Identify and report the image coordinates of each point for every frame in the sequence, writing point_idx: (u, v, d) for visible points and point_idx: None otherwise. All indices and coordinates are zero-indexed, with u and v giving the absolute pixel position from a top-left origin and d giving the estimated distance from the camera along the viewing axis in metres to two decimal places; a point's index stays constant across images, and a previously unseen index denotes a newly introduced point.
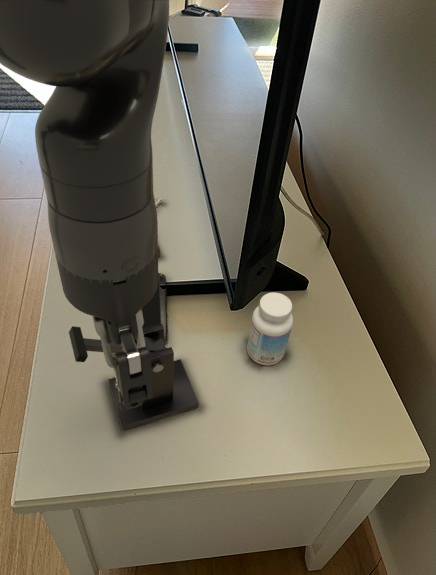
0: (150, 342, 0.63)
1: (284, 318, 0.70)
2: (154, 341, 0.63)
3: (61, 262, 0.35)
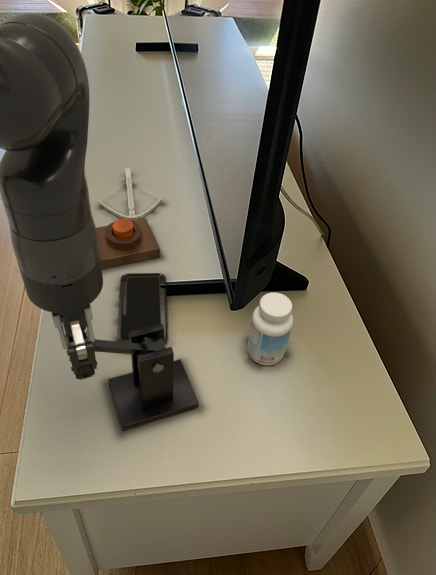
0: (150, 342, 0.63)
1: (284, 318, 0.70)
2: (154, 341, 0.63)
3: (21, 270, 0.45)
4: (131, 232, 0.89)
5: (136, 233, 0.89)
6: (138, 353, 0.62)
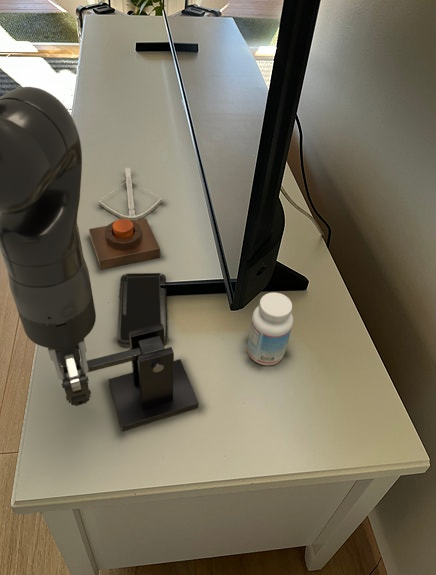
0: (145, 344, 0.63)
1: (284, 318, 0.70)
2: (150, 342, 0.63)
3: (19, 310, 0.48)
4: (131, 232, 0.89)
5: (136, 233, 0.89)
6: (137, 358, 0.63)
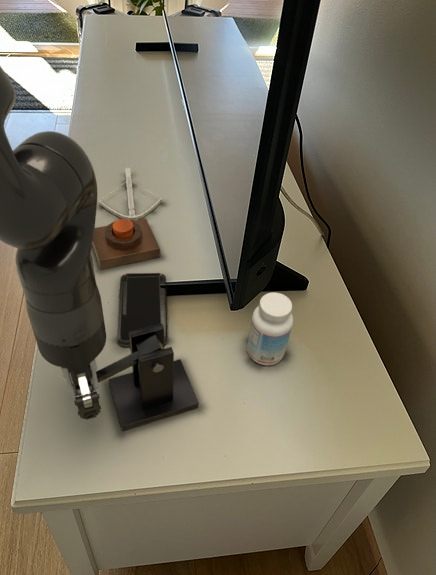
0: (142, 347, 0.63)
1: (284, 318, 0.70)
2: (146, 343, 0.63)
3: (35, 333, 0.51)
4: (131, 232, 0.89)
5: (136, 233, 0.89)
6: None
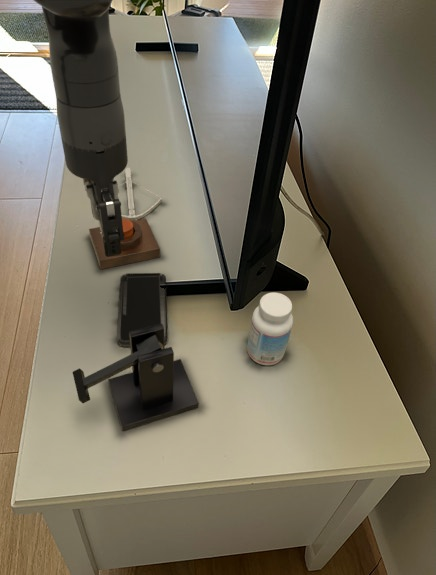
0: (142, 347, 0.63)
1: (284, 318, 0.70)
2: (146, 343, 0.63)
3: (64, 139, 0.56)
4: (131, 232, 0.89)
5: (136, 233, 0.89)
6: None
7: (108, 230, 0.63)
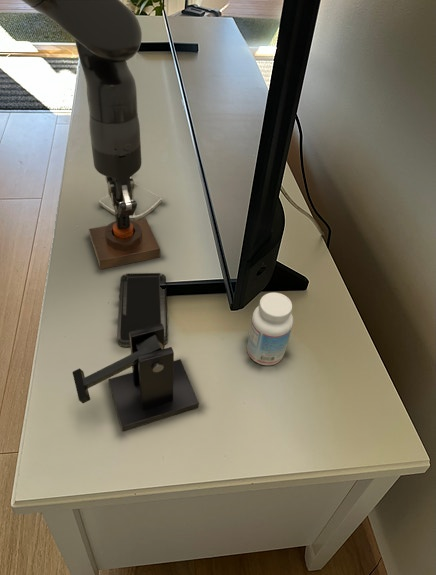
0: (142, 347, 0.63)
1: (284, 318, 0.70)
2: (146, 343, 0.63)
3: (95, 147, 0.74)
4: (131, 233, 0.89)
5: (136, 233, 0.89)
6: None
7: None
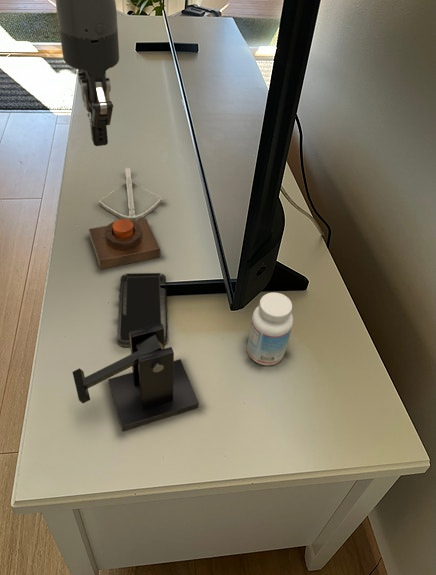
0: (142, 347, 0.63)
1: (284, 318, 0.70)
2: (146, 343, 0.63)
3: (62, 29, 0.63)
4: (131, 232, 0.89)
5: (136, 233, 0.89)
6: None
7: None
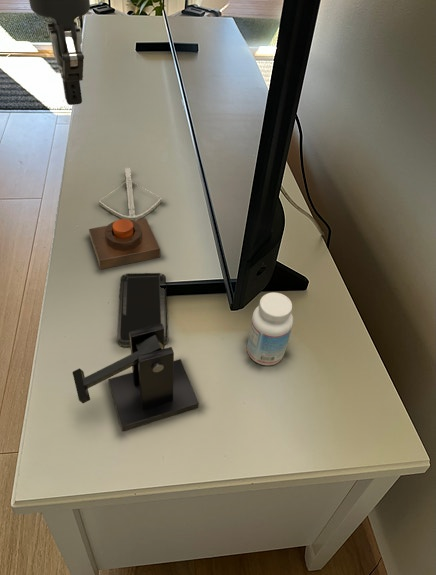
0: (142, 347, 0.63)
1: (284, 318, 0.70)
2: (146, 343, 0.63)
3: None
4: (131, 232, 0.89)
5: (136, 233, 0.89)
6: None
7: None
